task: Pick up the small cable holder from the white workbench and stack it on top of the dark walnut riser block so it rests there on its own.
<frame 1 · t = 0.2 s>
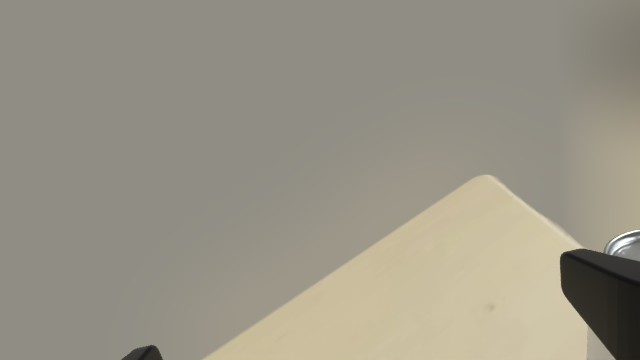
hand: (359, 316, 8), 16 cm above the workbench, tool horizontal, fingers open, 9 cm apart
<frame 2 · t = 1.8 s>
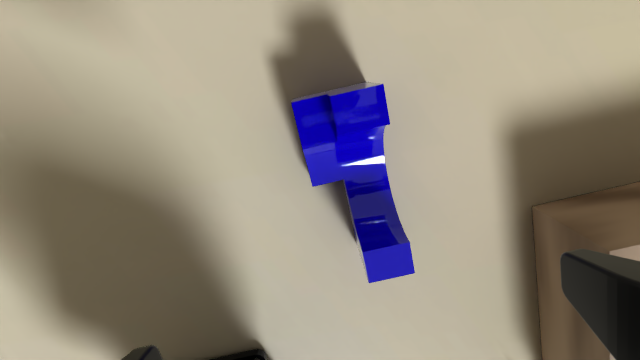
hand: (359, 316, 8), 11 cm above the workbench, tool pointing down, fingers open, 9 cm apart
walnut riser: (625, 283, 20), on the workbench
cable holder: (345, 169, 18), on the workbench
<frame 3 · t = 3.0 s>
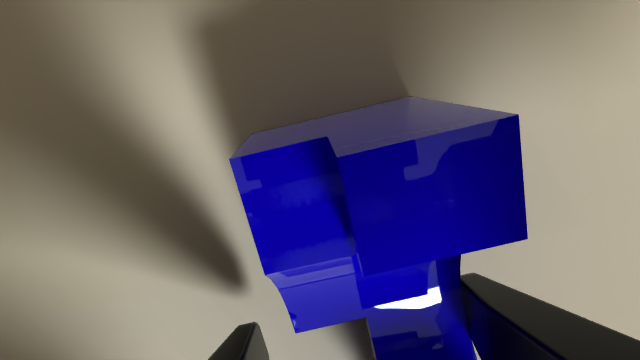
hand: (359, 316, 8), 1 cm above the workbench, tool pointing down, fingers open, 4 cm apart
cable holder: (364, 271, 9), on the workbench
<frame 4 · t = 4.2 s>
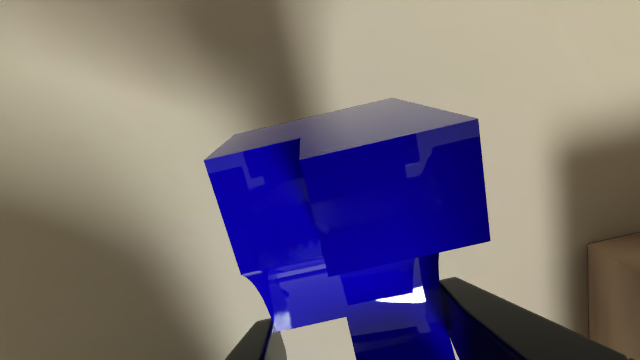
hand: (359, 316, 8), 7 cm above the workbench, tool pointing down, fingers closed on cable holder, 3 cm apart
cable holder: (348, 271, 9), point 5 cm above the workbench, touching gripper
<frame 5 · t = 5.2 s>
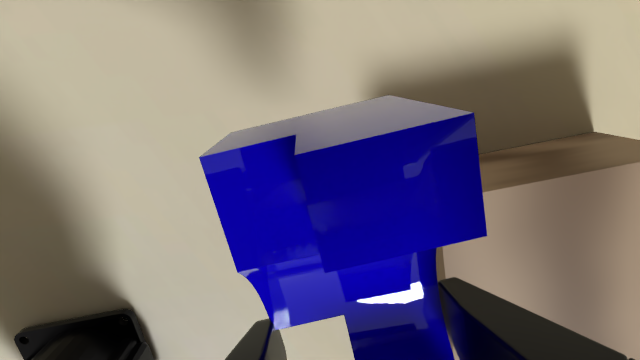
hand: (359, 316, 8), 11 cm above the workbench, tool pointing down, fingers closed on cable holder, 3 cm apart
walnut riser: (503, 254, 20), on the workbench
cable holder: (346, 269, 9), point 10 cm above the workbench, touching gripper
when the fingers open (7 cm above the workbench, at t = 6.7 s): cable holder drops 1 cm, resting on walnut riser.
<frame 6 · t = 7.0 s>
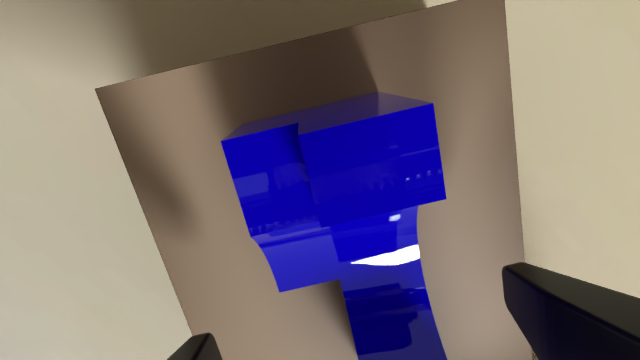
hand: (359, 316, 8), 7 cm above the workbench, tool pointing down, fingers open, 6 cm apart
walnut riser: (333, 201, 15), on the workbench
cable holder: (342, 245, 10), point 5 cm above the workbench, touching walnut riser
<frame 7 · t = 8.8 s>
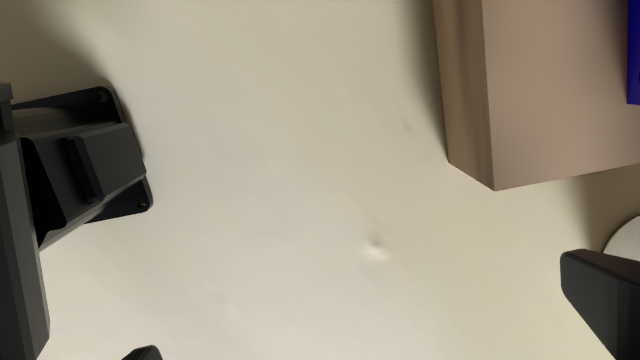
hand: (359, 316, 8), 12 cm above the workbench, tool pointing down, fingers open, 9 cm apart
walnut riser: (539, 23, 17), on the workbench
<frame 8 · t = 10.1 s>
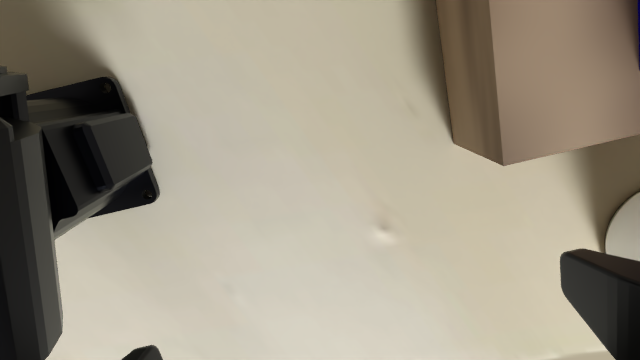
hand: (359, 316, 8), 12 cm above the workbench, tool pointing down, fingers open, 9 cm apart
walnut riser: (540, 0, 17), on the workbench
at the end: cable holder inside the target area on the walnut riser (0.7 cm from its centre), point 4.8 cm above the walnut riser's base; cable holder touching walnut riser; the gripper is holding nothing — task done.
